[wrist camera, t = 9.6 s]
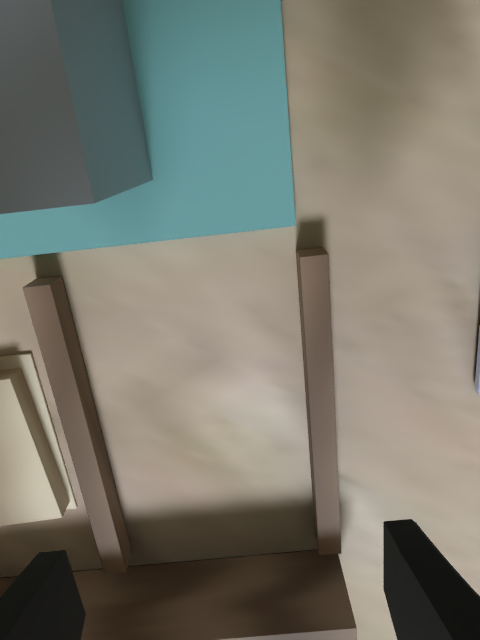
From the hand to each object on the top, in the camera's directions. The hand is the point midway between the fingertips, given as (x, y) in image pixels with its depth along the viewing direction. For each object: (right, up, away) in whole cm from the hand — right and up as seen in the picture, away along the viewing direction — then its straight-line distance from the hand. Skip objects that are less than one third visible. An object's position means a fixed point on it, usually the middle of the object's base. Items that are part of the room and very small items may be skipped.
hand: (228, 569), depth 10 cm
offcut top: (-10, 0, +10) cm, 14 cm away
